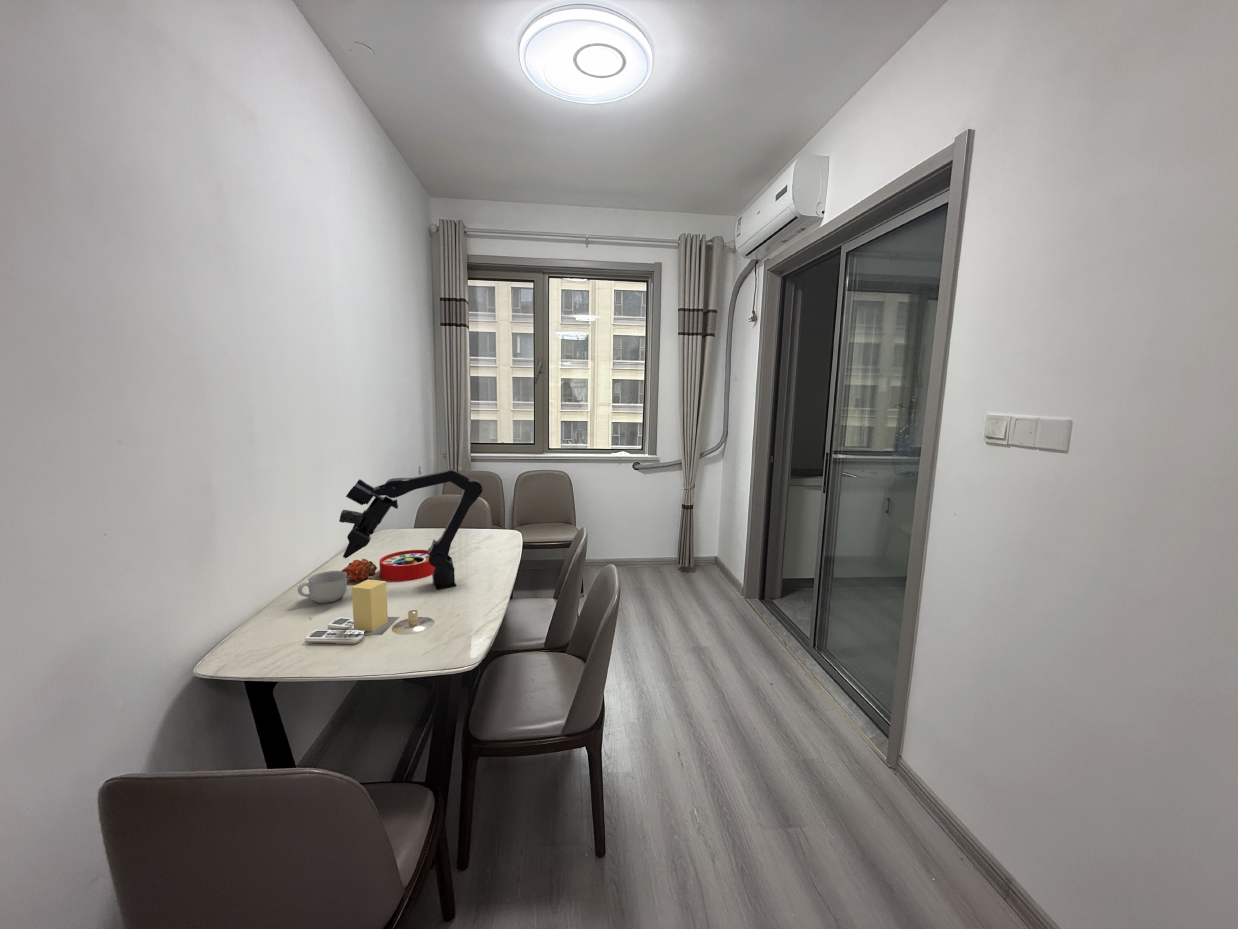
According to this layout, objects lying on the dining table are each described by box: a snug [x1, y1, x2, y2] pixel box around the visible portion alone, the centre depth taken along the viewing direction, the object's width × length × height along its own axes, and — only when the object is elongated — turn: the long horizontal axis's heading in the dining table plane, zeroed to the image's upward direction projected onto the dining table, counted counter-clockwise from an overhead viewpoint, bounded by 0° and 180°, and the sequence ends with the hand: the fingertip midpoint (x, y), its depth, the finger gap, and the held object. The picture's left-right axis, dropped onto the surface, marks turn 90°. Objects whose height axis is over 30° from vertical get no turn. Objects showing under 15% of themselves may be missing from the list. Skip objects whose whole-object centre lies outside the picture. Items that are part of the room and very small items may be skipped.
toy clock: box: [379, 549, 435, 582], centre depth 181 cm, size 20×6×20 cm
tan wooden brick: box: [351, 579, 389, 632], centre depth 133 cm, size 6×6×12 cm
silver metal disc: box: [391, 609, 435, 636], centre depth 134 cm, size 11×11×4 cm
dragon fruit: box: [341, 558, 378, 584], centre depth 171 cm, size 8×8×12 cm
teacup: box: [297, 570, 348, 604], centre depth 153 cm, size 14×11×8 cm
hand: (346, 553), depth 155 cm, fingers open, 9 cm apart
